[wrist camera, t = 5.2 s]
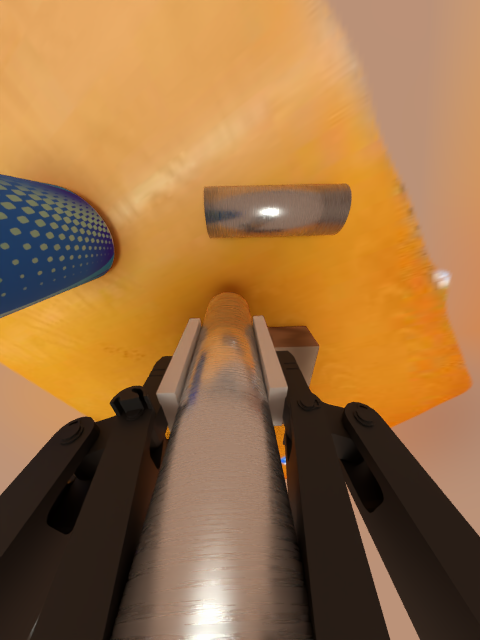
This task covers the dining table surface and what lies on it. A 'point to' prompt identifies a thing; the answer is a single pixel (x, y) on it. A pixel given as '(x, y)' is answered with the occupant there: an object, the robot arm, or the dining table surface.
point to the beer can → (47, 243)
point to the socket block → (297, 347)
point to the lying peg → (276, 210)
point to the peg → (219, 508)
